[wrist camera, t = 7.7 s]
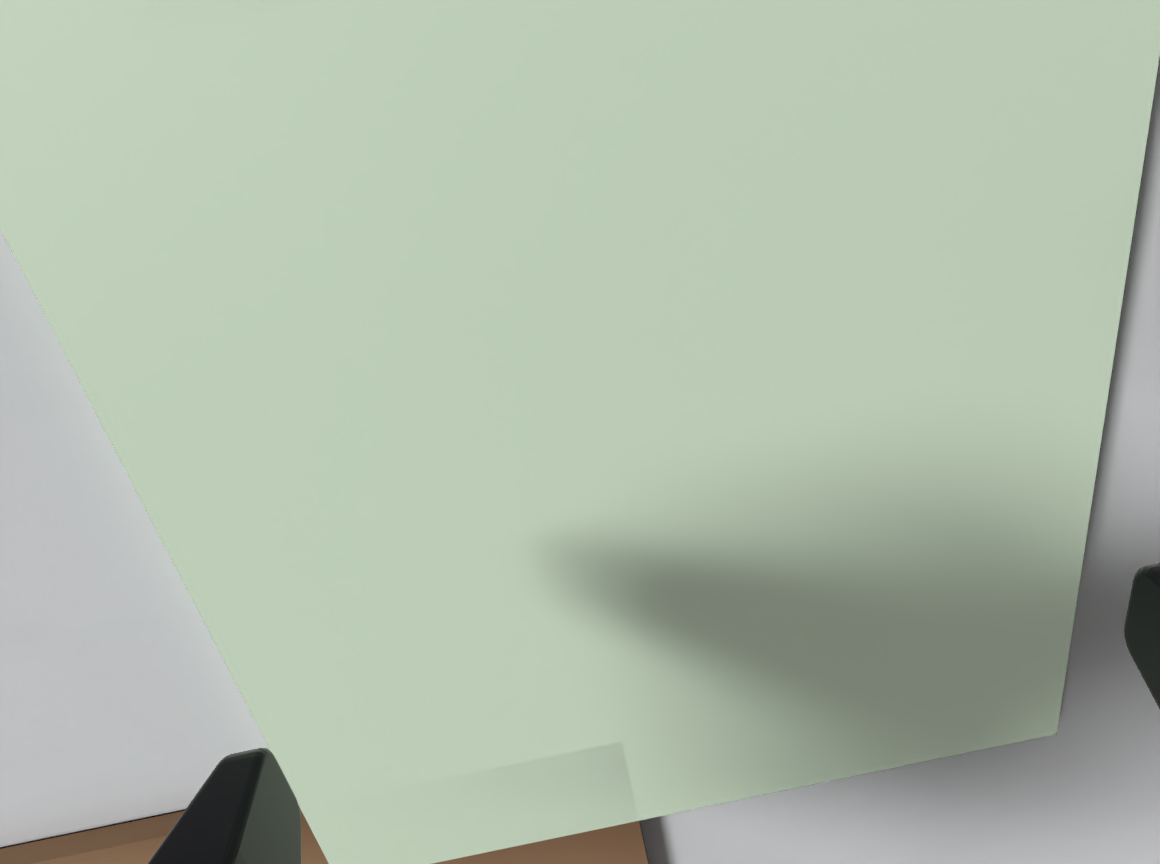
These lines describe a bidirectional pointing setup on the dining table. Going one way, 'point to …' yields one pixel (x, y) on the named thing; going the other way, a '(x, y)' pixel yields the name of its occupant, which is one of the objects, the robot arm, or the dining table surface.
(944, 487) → the green mat
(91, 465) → the dining table surface
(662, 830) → the dining table surface
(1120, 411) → the dining table surface
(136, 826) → the walnut mat
